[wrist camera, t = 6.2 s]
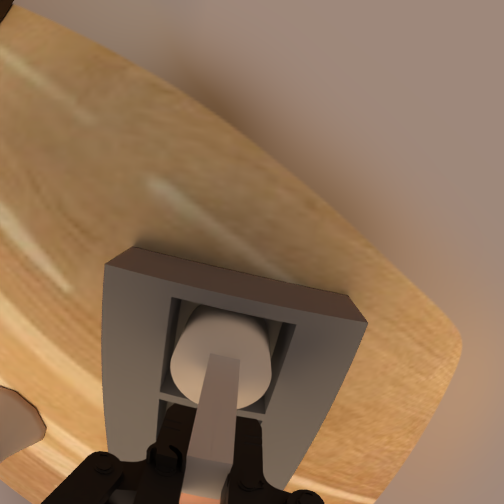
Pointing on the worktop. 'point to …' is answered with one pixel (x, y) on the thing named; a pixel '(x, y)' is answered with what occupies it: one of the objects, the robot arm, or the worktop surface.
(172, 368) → the button ivory
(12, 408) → the flask
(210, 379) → the robot arm
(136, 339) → the panel
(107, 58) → the worktop surface
